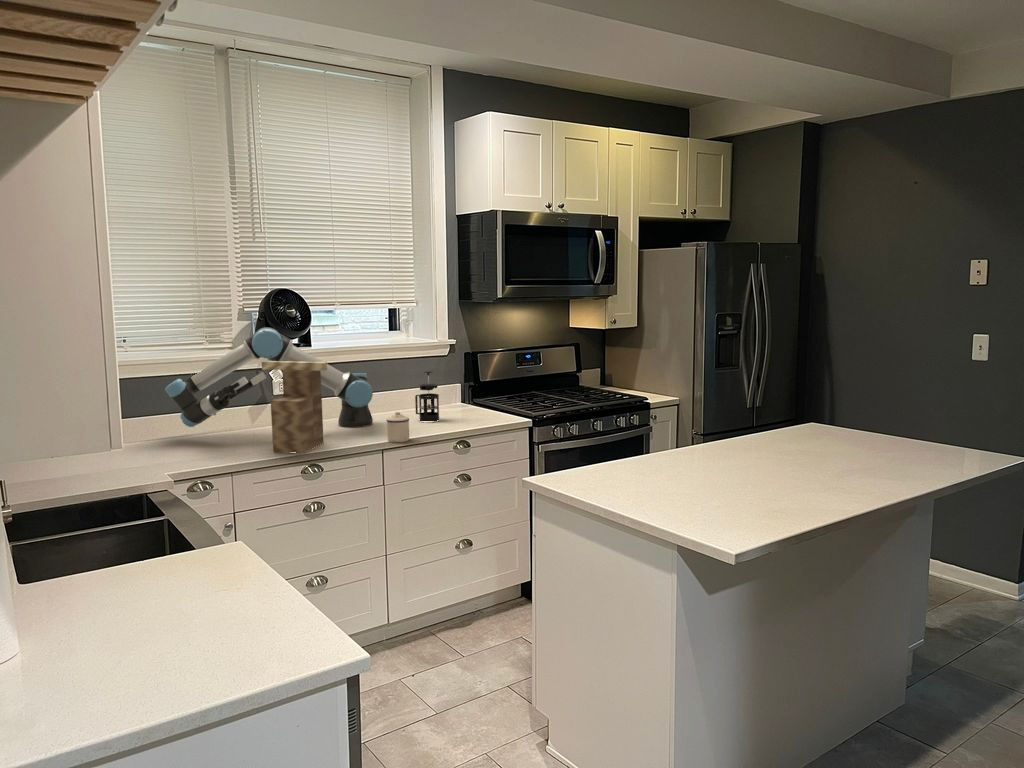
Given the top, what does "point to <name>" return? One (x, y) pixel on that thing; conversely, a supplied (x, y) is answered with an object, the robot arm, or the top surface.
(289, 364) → the beech rod
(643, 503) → the top surface
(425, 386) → the french press
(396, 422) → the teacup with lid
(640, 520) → the top surface
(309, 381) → the walnut shelf
